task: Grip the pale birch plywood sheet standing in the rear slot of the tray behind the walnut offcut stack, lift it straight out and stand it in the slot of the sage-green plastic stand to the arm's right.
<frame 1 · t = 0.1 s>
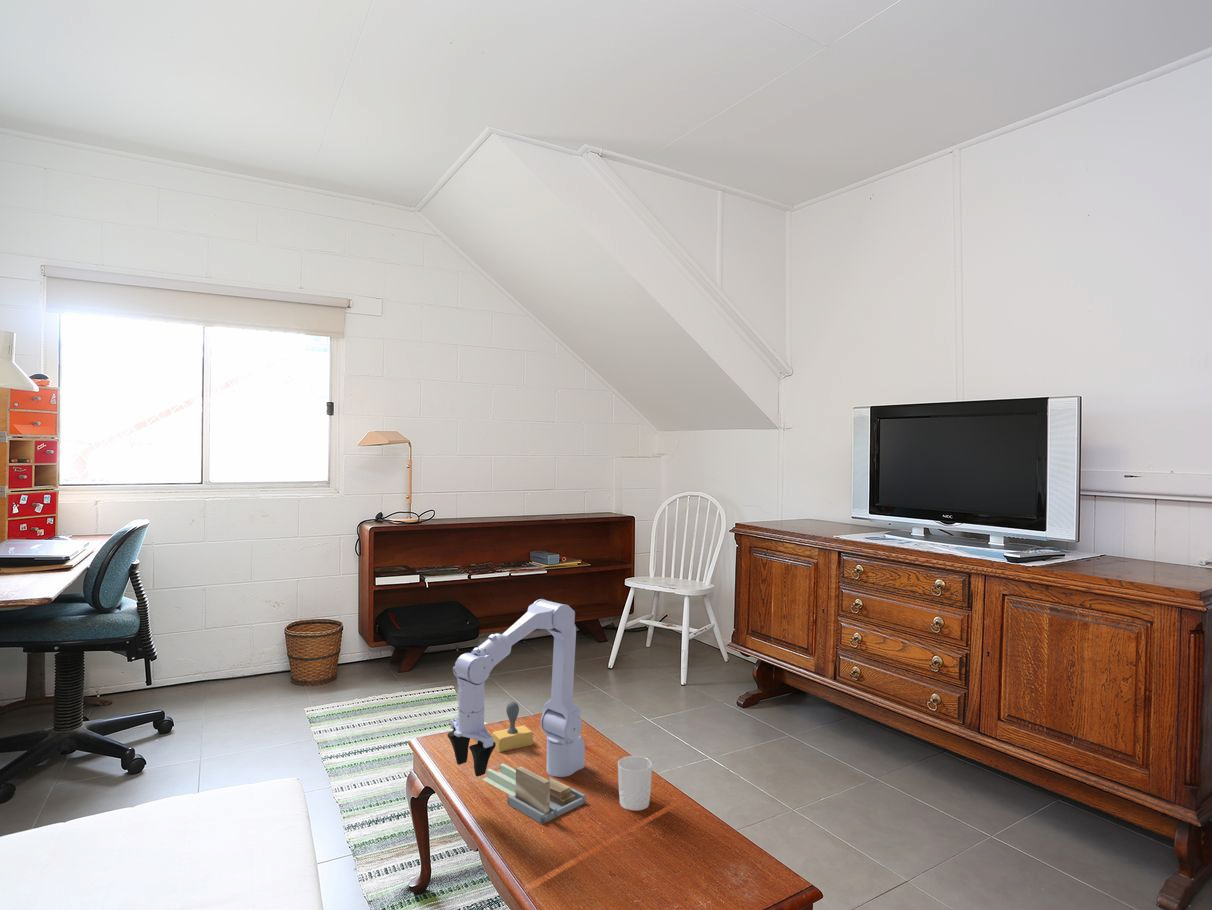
hand: (470, 768, 159), 10 cm above the table, fingers open, 7 cm apart
white cup: (634, 807, 163), on the table
offcut upper: (555, 791, 165), point 2 cm above the table, touching offcut lower
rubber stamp: (512, 745, 196), on the table
offcut lower: (557, 798, 165), point 1 cm above the table, touching offcut upper, tray
stand: (510, 785, 173), on the table
birch sheet: (532, 809, 159), point 1 cm above the table, touching tray
tray: (546, 806, 162), on the table
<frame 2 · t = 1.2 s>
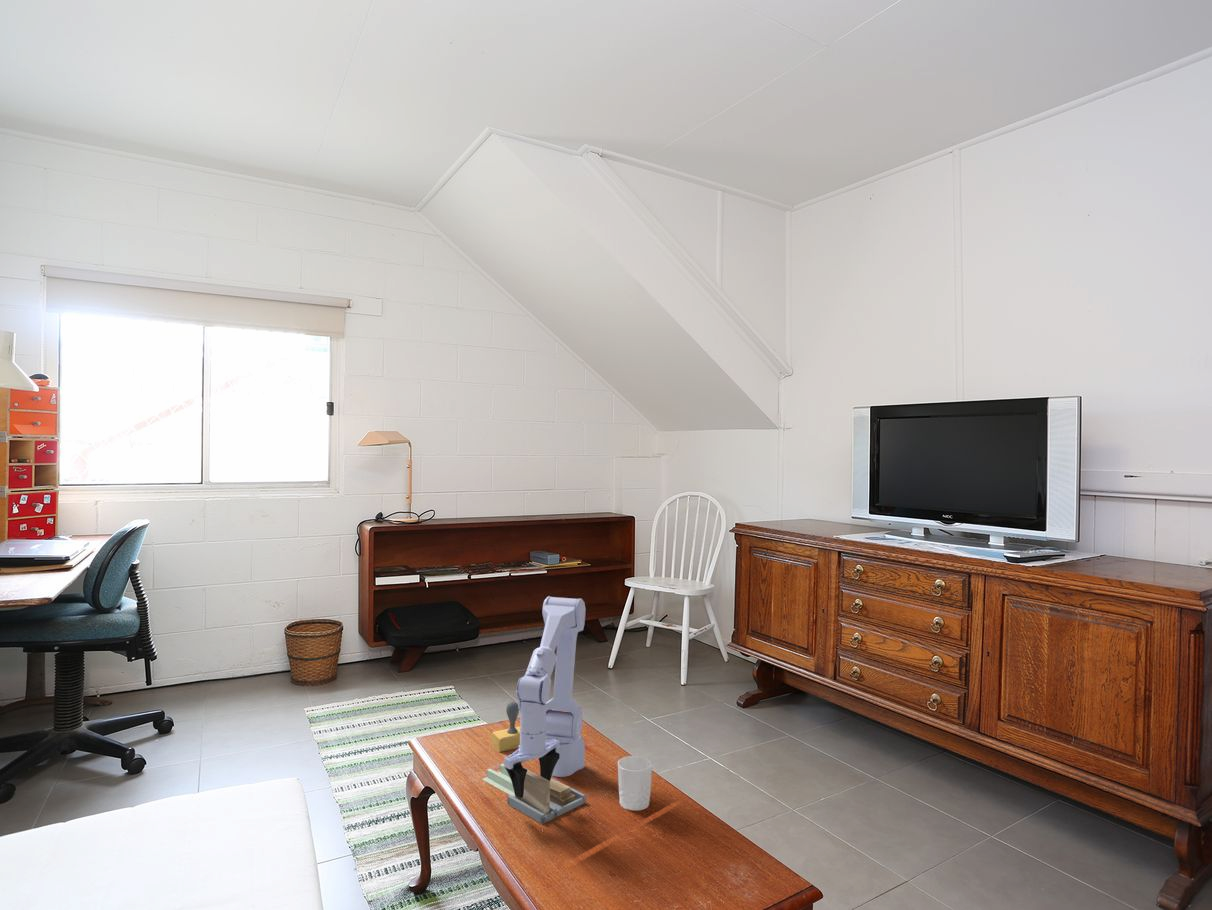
hand: (532, 790, 159), 5 cm above the table, fingers open, 7 cm apart
nothing on the table moved.
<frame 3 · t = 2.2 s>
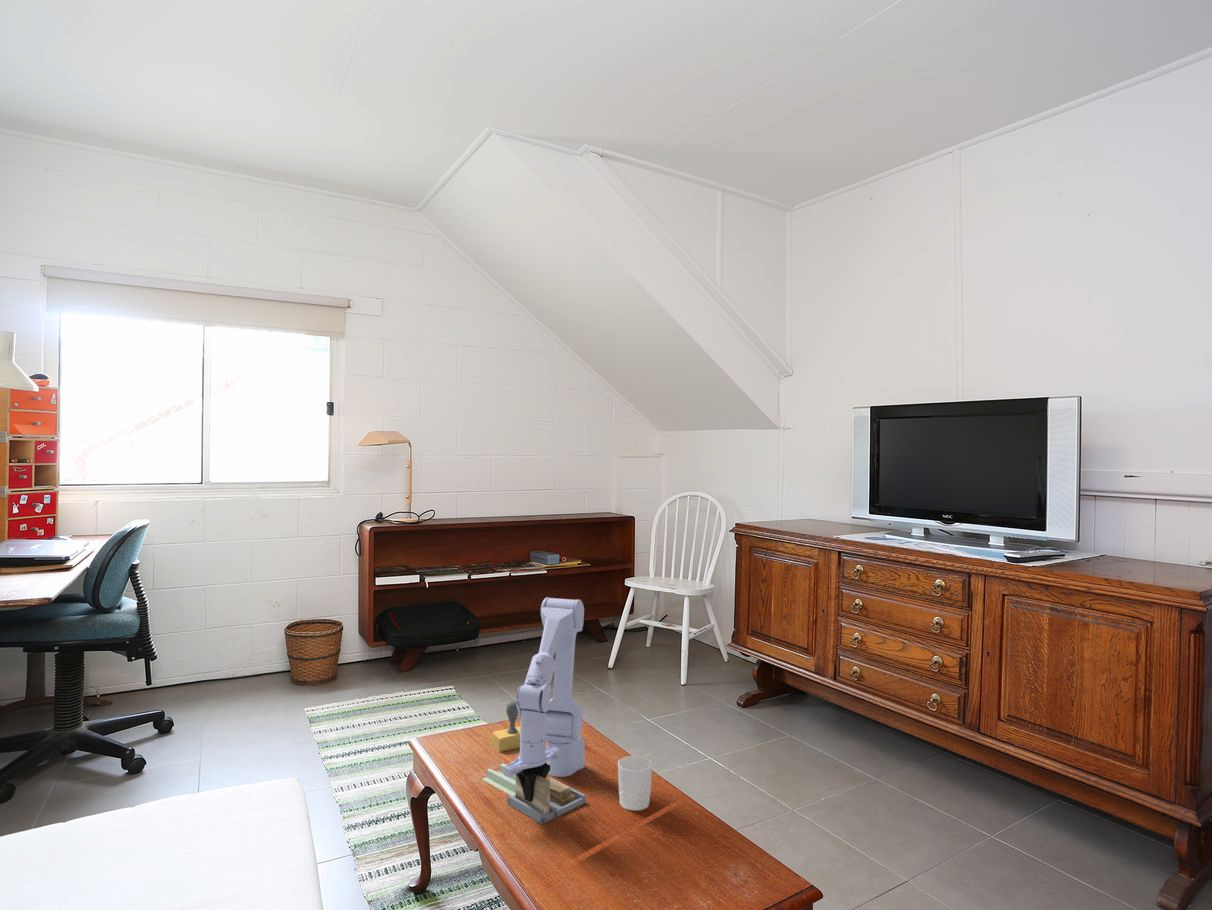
hand: (532, 798, 159), 3 cm above the table, fingers closed on birch sheet, 1 cm apart
birch sheet: (532, 809, 159), point 1 cm above the table, touching gripper, tray
everything else where it was.
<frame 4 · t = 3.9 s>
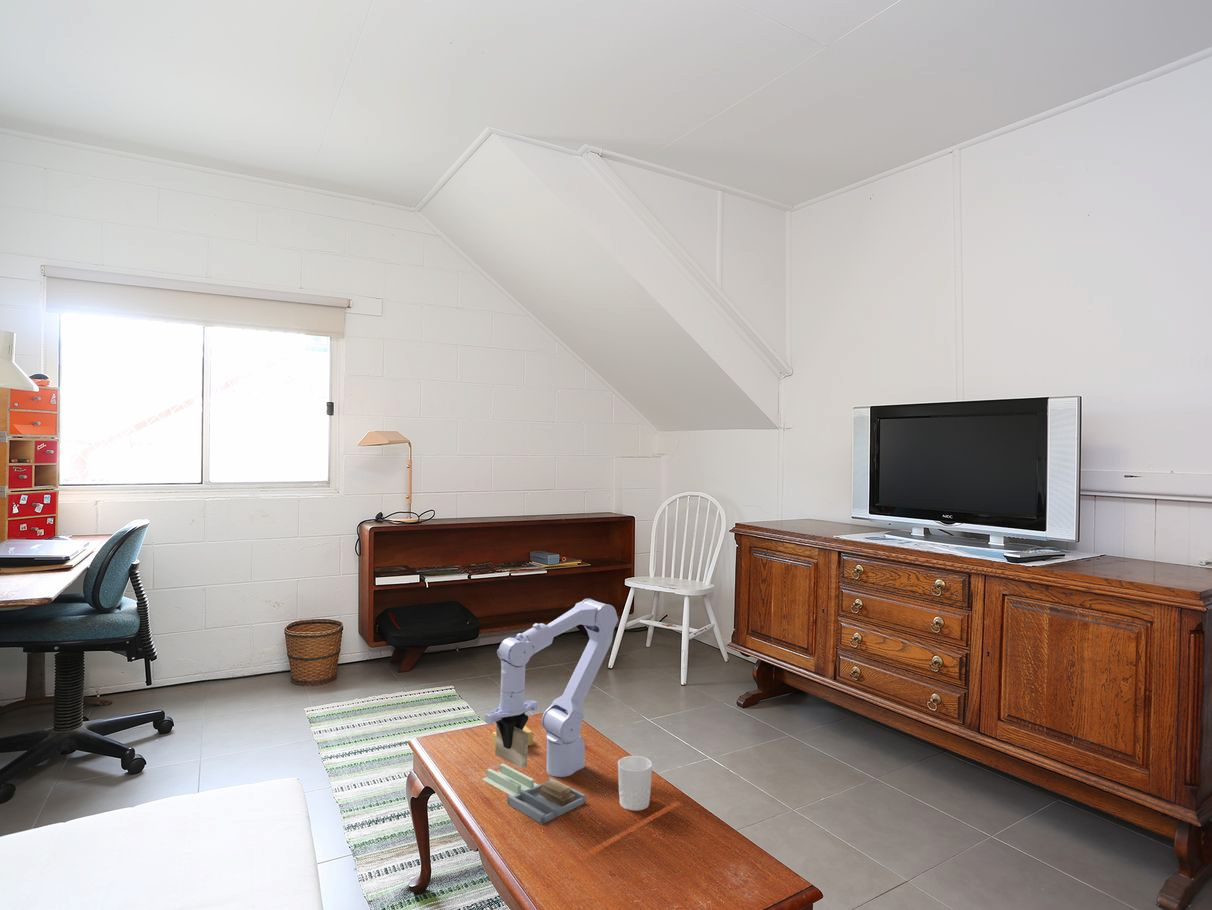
hand: (510, 746, 170), 10 cm above the table, fingers closed on birch sheet
birch sheet: (510, 760, 170), point 7 cm above the table, touching gripper
everything else where it was.
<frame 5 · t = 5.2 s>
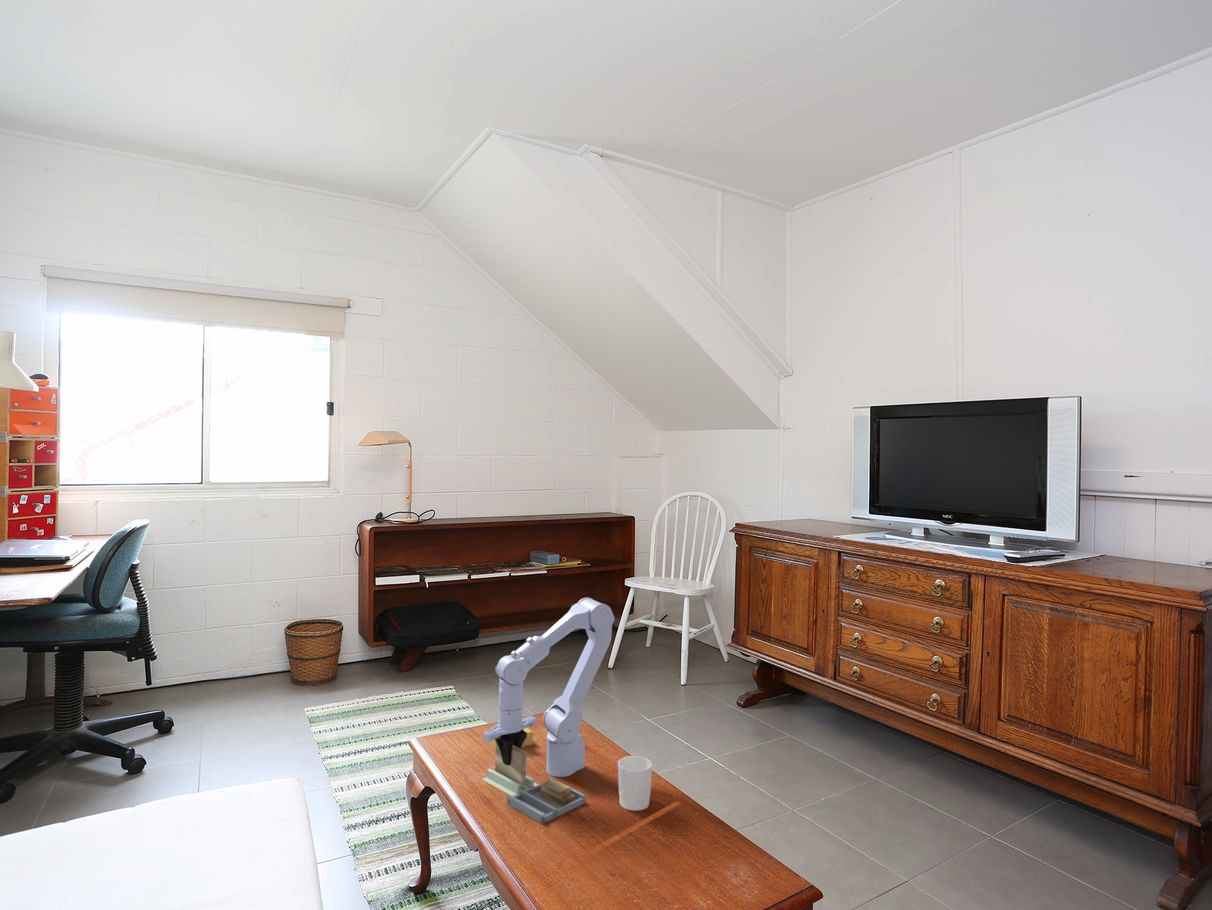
hand: (510, 762, 172), 5 cm above the table, fingers closed on birch sheet, 1 cm apart
birch sheet: (510, 778, 172), point 2 cm above the table, touching gripper
everything else where it was.
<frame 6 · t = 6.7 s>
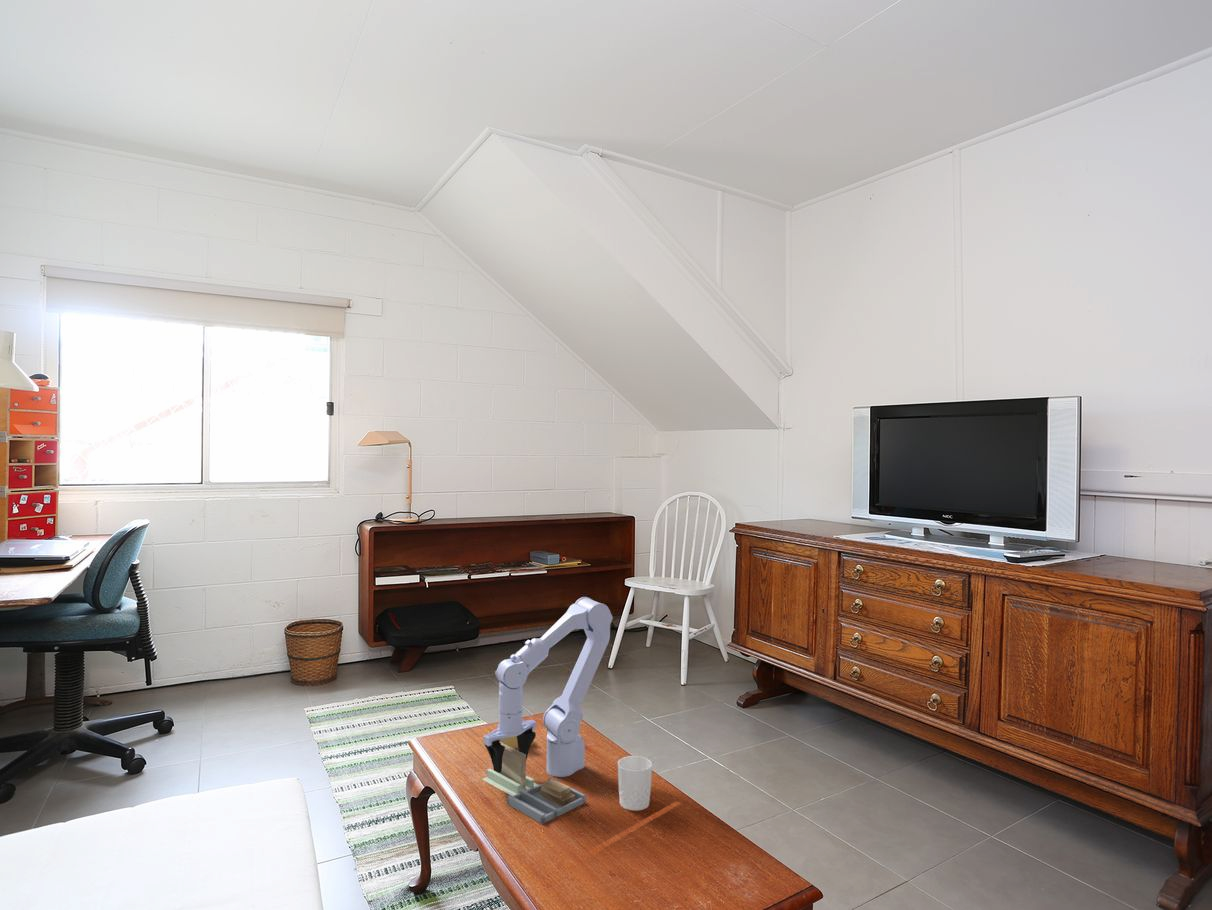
hand: (510, 766, 172), 5 cm above the table, fingers open, 7 cm apart
birch sheet: (510, 782, 172), point 1 cm above the table, touching stand
everything else where it was.
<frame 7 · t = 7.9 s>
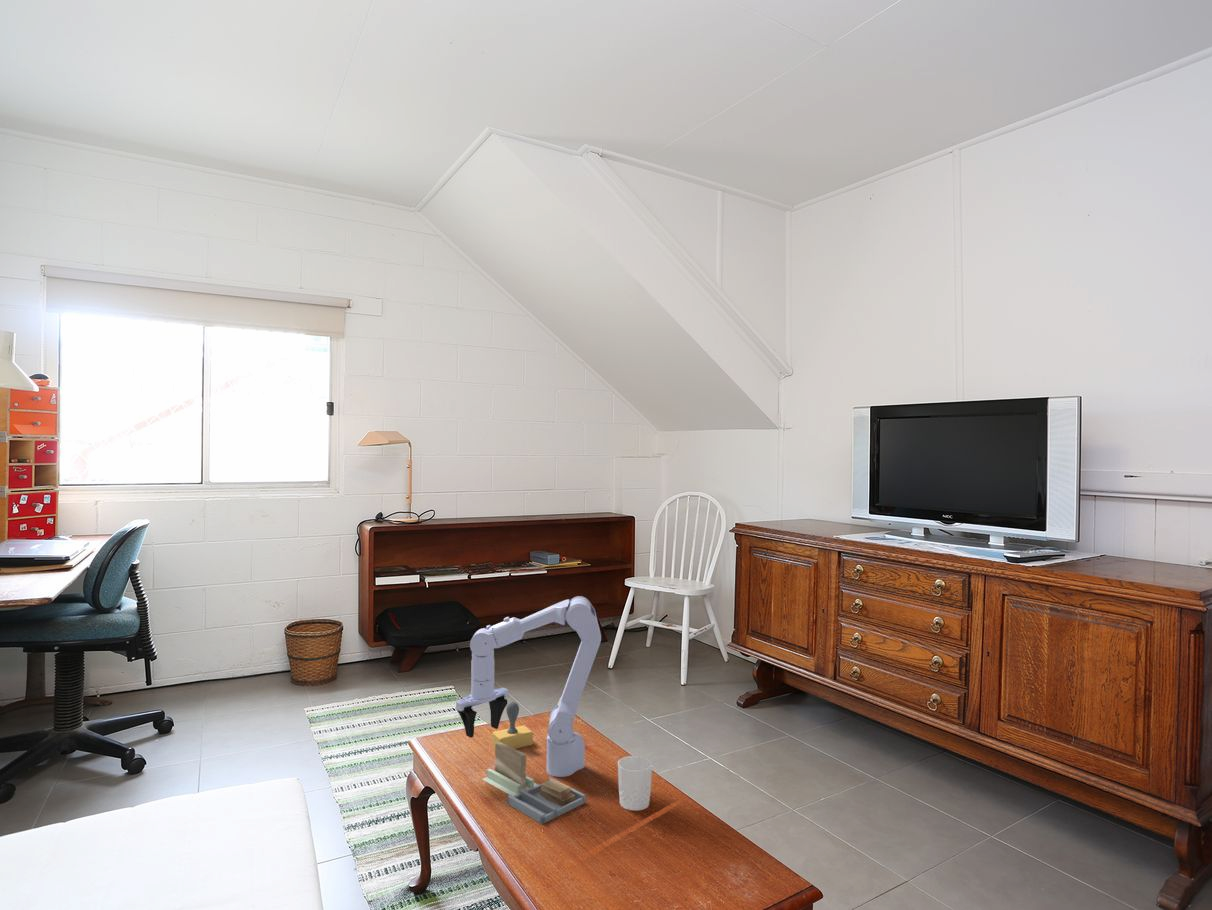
hand: (482, 731, 179), 10 cm above the table, fingers open, 7 cm apart
nothing on the table moved.
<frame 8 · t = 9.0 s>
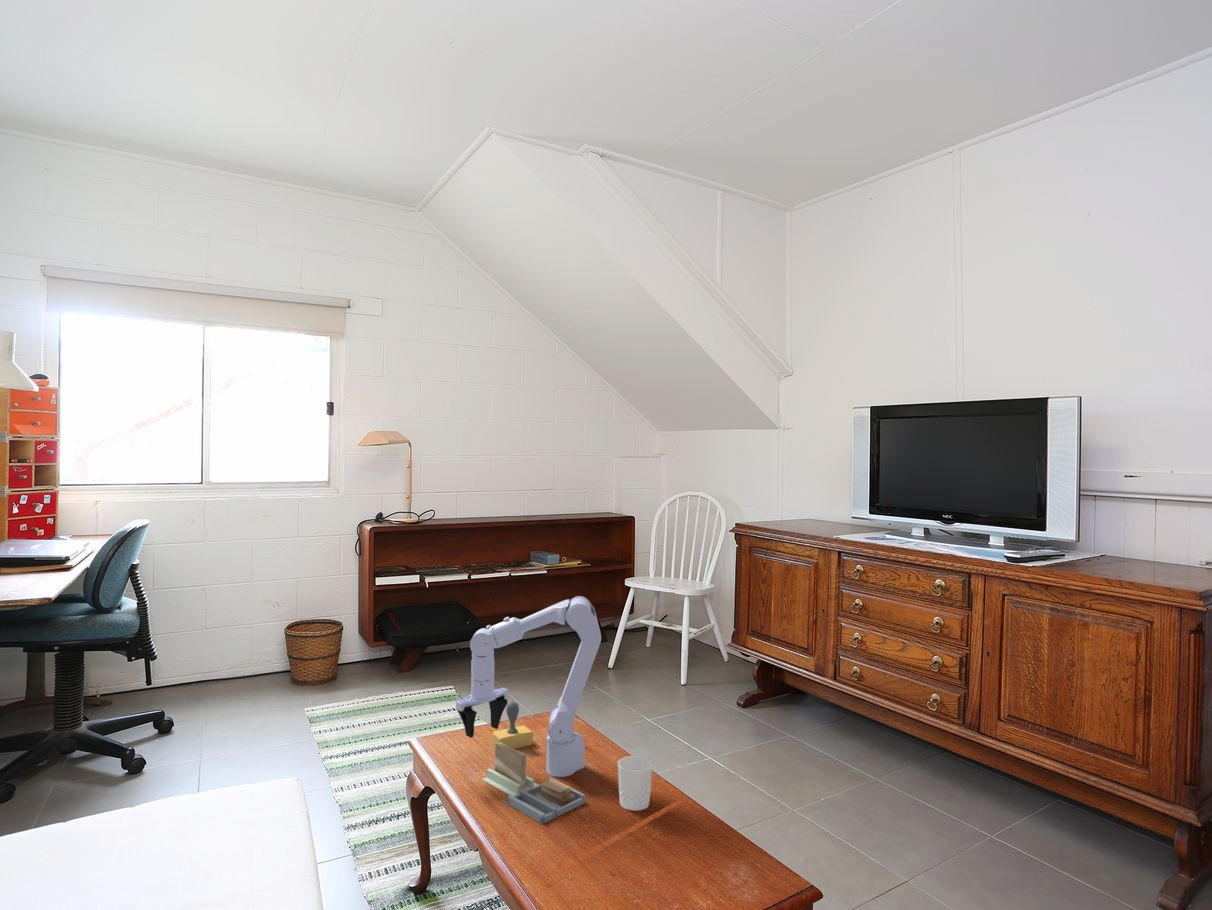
hand: (482, 731, 179), 10 cm above the table, fingers open, 7 cm apart
nothing on the table moved.
at the end: birch sheet inside the target area on the stand (0.1 cm from its centre), point 0.8 cm above the stand's base; birch sheet tilted 0°; the gripper is holding nothing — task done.
